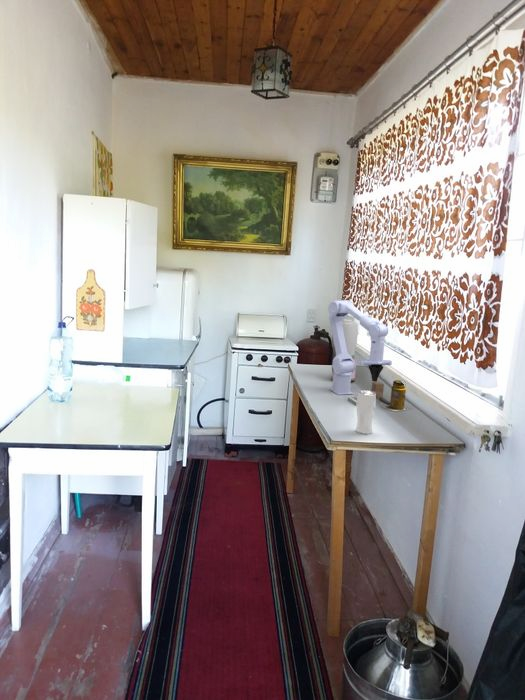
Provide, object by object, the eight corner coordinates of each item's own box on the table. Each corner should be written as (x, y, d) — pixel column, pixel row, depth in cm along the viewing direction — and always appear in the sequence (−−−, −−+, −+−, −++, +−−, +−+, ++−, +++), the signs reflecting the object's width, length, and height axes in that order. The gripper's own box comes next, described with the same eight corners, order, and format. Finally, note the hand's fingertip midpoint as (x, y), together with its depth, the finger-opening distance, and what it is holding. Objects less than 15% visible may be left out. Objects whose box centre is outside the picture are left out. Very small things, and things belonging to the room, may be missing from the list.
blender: (344, 376, 283) (348, 318, 277) (359, 382, 273) (364, 321, 267) (321, 379, 275) (325, 319, 269) (337, 385, 265) (341, 322, 259)
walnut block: (370, 396, 246) (372, 382, 245) (378, 396, 247) (379, 381, 246) (374, 398, 242) (376, 384, 241) (382, 398, 243) (383, 383, 242)
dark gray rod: (378, 399, 242) (378, 396, 242) (380, 399, 242) (381, 396, 242) (388, 404, 233) (388, 402, 233) (390, 404, 233) (391, 402, 233)
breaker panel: (347, 400, 238) (347, 395, 238) (363, 399, 240) (363, 394, 240) (357, 406, 229) (357, 401, 228) (373, 405, 231) (374, 400, 230)
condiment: (408, 409, 228) (410, 382, 226) (394, 411, 223) (397, 384, 221) (395, 404, 234) (398, 378, 232) (382, 407, 229) (384, 380, 227)
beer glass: (351, 431, 196) (354, 392, 193) (358, 427, 201) (362, 389, 198) (368, 435, 192) (372, 396, 189) (376, 431, 197) (379, 392, 195)
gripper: (366, 353, 226) (363, 383, 228) (396, 352, 230) (393, 382, 232) (358, 350, 233) (356, 379, 235) (388, 349, 237) (385, 379, 239)
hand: (374, 381), depth 234 cm, fingers closed
